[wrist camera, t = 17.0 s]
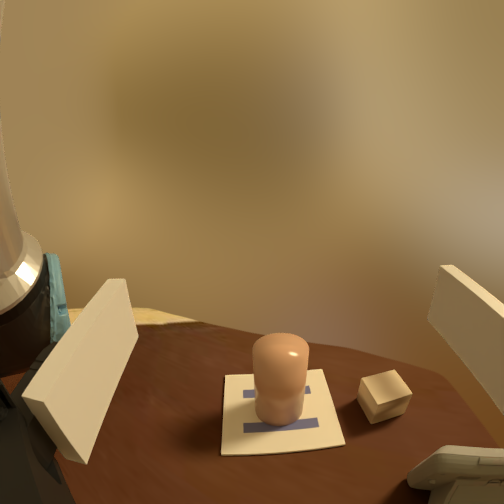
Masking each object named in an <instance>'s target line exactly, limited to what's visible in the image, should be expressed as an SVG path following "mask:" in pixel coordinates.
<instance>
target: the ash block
mask: <svg viewBox="0 0 504 504" xmlns="http://www.w3.org/2000/svg"><path fill="white" fill-rule="evenodd" d="M411 396H412V392H411V391H410V389H409V388H408V387H407V385H406V384H405V383H404V381H403V380H402V379H401V377H400V376H399V375H398V374H397V372H396V371H395V370H391V371H387V372H384V373H380V374H376V375H372V376H369V377H365V378H362V379H361V383H360V387H359V391H358V395H357V398H356V399H357V400H358V402H359V404H360V406H361V408H362V409H363V411H364V413H365V415H366V417H367V418H368V420H369V422H370V424H374V423H378V422H381V421H384V420H387V419H390V418H393V417H396V416H399V415H402V414H404V413H405V410H406V408H407V406H408V403H409V401H410V398H411Z"/></svg>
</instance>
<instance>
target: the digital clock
mask: <svg viewBox="0 0 504 504" xmlns="http://www.w3.org/2000/svg"><path fill="white" fill-rule="evenodd" d="M407 482H408V484H409V486H410V487H411V488H416V489H423V490H431V493H430V498H429V502H428V504H504V449H493V448H477V447H464V446H453V445H447V446H443V447H441V448H440V449H438V450H437V451H436V452H434V453H433V454H432V455H431V456H429V457H428V458H427V459H425V460H424V461H423V462H421V463H420V464H419V465H417V466H416V467H415V468H414V469H412V470H411V471H410V472H409V473H408V475H407Z"/></svg>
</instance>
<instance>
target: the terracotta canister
mask: <svg viewBox="0 0 504 504" xmlns="http://www.w3.org/2000/svg"><path fill="white" fill-rule="evenodd" d="M308 355H309V347H308V344H307V343H306V342H305V340H303V339H302V338H300V337H298V336H296V335H293V334H289V333H273V334H269V335H266V336H263V337H261V338H260V339H258V340H257V341H256V342H255V344H254V345H253V371H254V394H255V412H256V415H257V417H258V418H259V419H260V420H261V421H262V422H264V423H266V424H268V425H272V426H286V425H289V424H292V423H294V422H295V421H297V420H298V419H299V418H300V416H301V415H302V412H303V404H304V395H305V386H306V376H307V366H308Z"/></svg>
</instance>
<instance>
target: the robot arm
mask: <svg viewBox="0 0 504 504" xmlns="http://www.w3.org/2000/svg"><path fill="white" fill-rule="evenodd" d="M4 5H5V0H0V40H1V28H2V19H3V12H4ZM427 320H428V321H429V322H430V323H431V325H432V326H433V327H434V328H435V329H436V330H437V331H438V332H439V334H440V335H441V336H442V337H443V338H444V340H445V341H446V342H447V343H448V344H449V346H450V347H451V348H452V349H453V350H454V351H455V353H456V354H457V355H458V356H459V358H460V359H461V360H462V361H463V363H464V364H465V365H466V366H467V368H468V369H469V370H470V371H471V373H472V374H473V375H474V376H475V378H476V379H477V380H478V382H479V383H480V384H481V385H482V387H483V388H484V389H485V391H486V392H487V393H488V395H489V396H490V397H491V399H492V400H493V401H494V403H495V404H496V406H497V407H498V408H499V410H500V411H501V412H502V414H503V415H504V305H503V304H502V303H501V302H500V301H499V300H498V299H496V298H495V297H494V296H493V295H491V294H490V293H489V292H487V291H486V290H485V289H484V288H482V287H481V286H480V285H478V284H477V283H476V282H475V281H473V280H472V279H471V278H469V277H468V276H467V275H465V274H464V273H463V272H461V271H460V270H459V269H457V268H456V267H454V266H453V265H443V266H440V267H439V272H438V277H437V281H436V286H435V290H434V294H433V298H432V302H431V306H430V310H429V314H428V318H427ZM137 339H138V333H137V329H136V325H135V321H134V317H133V312H132V308H131V304H130V299H129V295H128V290H127V285H126V280H125V279H108V280H107V281H106V282H105V283H104V285H103V286H102V287H101V288H100V290H99V291H98V292H97V293H96V294H95V296H94V297H93V298H92V299H91V301H90V302H89V303H88V304H87V306H86V307H85V308H84V309H83V311H82V312H81V313H80V314H79V316H78V317H77V318H76V320H75V321H74V322H73V323H72V325H71V324H70V319H69V314H68V310H67V304H66V299H65V292H64V287H63V280H62V274H61V267H60V262H59V257H58V256H57V255H56V254H49V253H45V254H43V253H42V249H41V247H40V245H39V243H38V241H37V240H36V238H34V237H33V236H32V235H31V234H29V233H27V232H25V231H22V230H21V229H20V226H19V222H18V218H17V214H16V210H15V206H14V202H13V197H12V192H11V187H10V182H9V177H8V172H7V166H6V159H5V152H4V145H3V137H2V127H1V116H0V378H2V377H7V376H11V375H15V374H20V373H24V372H26V373H25V375H24V376H23V377H22V379H21V380H20V382H19V383H18V385H17V386H16V388H15V389H14V391H13V392H12V393H11V395H9V393H8V391H7V390H6V388H5V386H4V384H3V383H2V381H1V379H0V504H76V503H75V501H74V499H73V497H72V495H71V493H70V490H69V488H68V486H67V484H66V481H65V479H64V477H63V474H62V472H61V469H60V467H59V464H58V462H57V460H56V459H55V457H54V454H55V451H56V449H58V450H59V451H60V452H61V454H62V455H63V456H64V457H65V459H68V460H72V461H76V462H79V463H83V464H87V462H88V460H89V457H90V454H91V451H92V448H93V446H94V443H95V440H96V438H97V435H98V432H99V430H100V427H101V424H102V422H103V419H104V417H105V414H106V412H107V409H108V407H109V404H110V402H111V399H112V397H113V394H114V392H115V389H116V387H117V385H118V382H119V380H120V377H121V375H122V373H123V370H124V368H125V366H126V363H127V361H128V359H129V357H130V354H131V352H132V350H133V348H134V345H135V343H136V341H137Z"/></svg>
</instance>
